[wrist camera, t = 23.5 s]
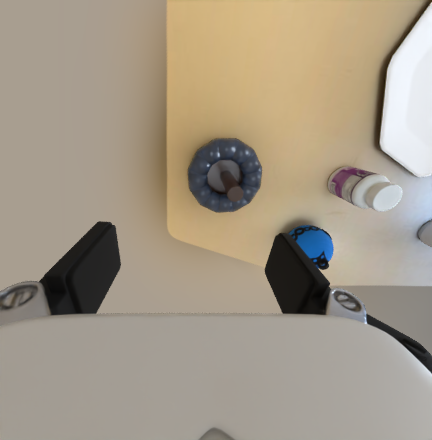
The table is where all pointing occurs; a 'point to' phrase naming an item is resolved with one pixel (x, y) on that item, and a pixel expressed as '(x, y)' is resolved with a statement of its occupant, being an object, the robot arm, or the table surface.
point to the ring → (212, 155)
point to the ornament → (314, 244)
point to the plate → (410, 100)
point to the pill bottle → (364, 189)
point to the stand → (226, 179)
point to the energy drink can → (426, 234)
